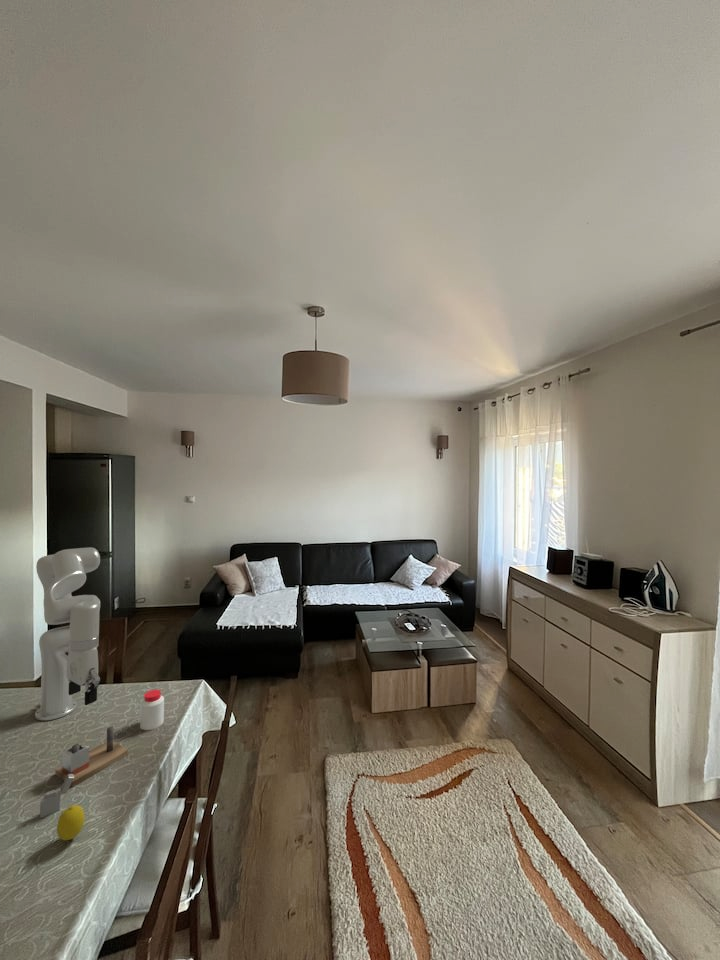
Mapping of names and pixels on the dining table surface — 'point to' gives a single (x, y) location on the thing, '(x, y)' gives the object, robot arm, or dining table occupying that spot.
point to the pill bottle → (152, 710)
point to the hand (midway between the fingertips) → (82, 697)
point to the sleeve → (75, 759)
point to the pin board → (97, 758)
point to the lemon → (70, 822)
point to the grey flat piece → (54, 798)
